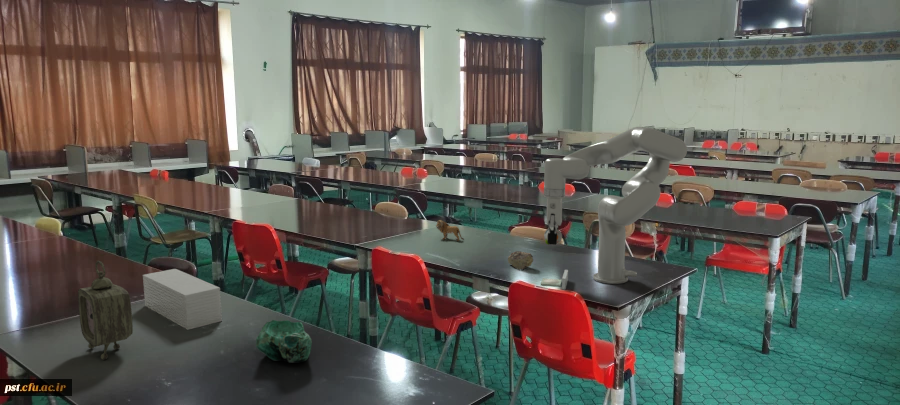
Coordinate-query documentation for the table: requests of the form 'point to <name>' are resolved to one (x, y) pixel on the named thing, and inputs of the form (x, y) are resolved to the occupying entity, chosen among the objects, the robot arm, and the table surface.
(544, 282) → the mat
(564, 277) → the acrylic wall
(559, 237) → the roller toy
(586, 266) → the table surface
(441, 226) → the lion figurine
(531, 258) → the rock
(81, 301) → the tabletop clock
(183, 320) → the stack of papers
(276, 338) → the mineral
